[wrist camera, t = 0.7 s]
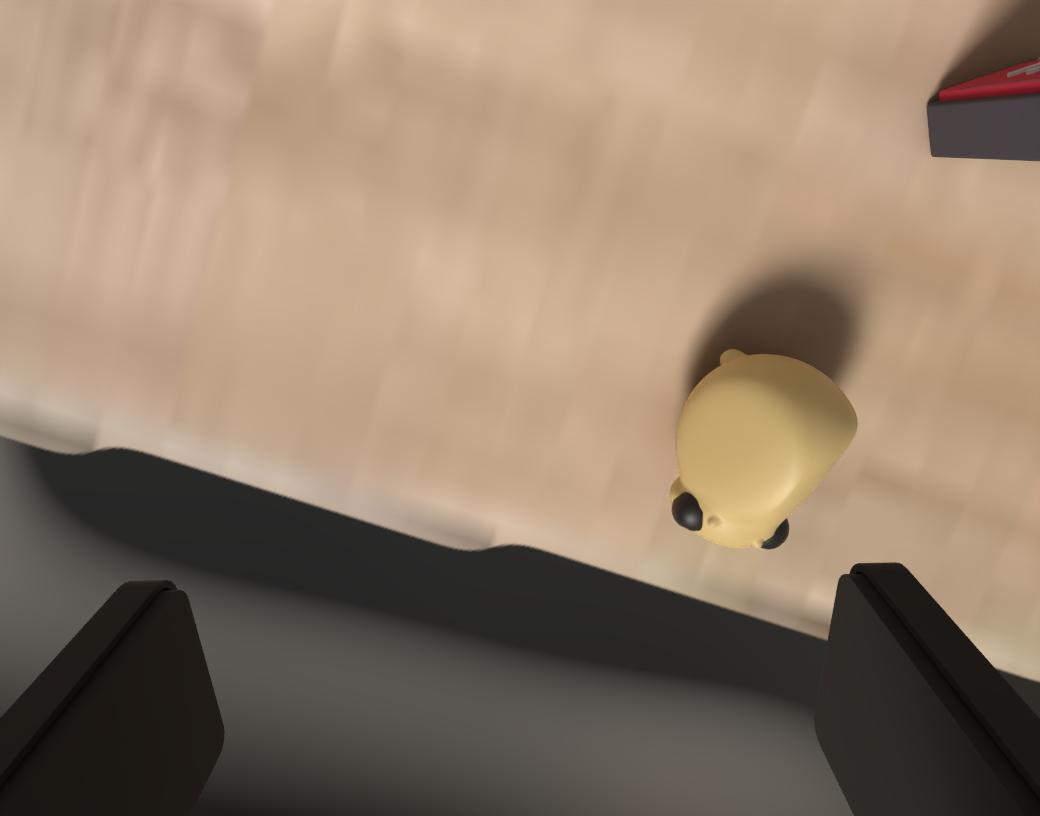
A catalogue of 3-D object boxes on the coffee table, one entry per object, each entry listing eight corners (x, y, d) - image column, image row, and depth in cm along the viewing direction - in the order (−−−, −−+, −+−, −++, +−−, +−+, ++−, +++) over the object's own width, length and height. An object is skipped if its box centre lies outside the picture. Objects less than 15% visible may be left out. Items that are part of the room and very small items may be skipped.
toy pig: (627, 467, 47) (654, 555, 37) (705, 311, 42) (759, 363, 32) (751, 511, 48) (810, 608, 38) (839, 364, 44) (931, 429, 34)
